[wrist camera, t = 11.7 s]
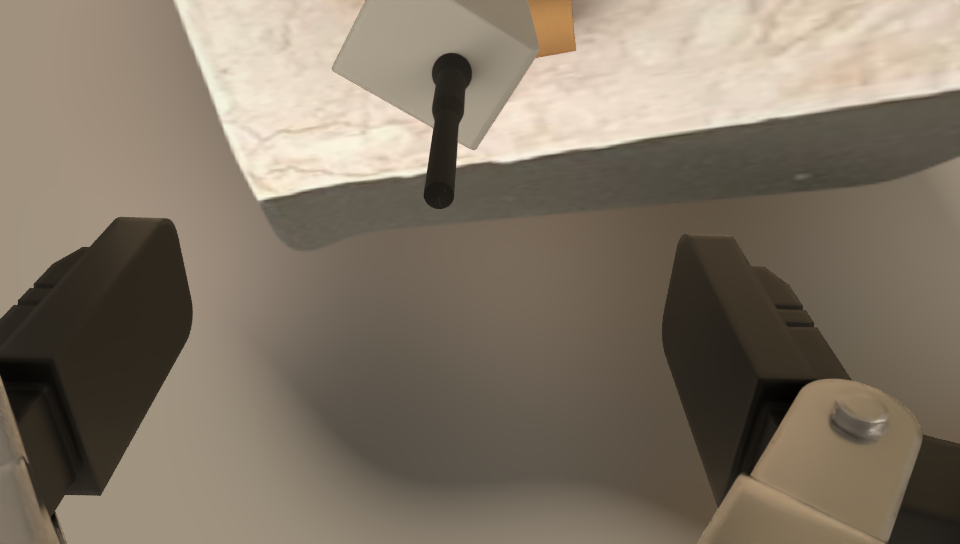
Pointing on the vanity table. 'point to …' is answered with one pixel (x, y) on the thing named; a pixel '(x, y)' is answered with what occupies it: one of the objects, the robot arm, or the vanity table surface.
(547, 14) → the maple block
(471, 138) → the vintage mobile phone
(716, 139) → the vanity table surface
